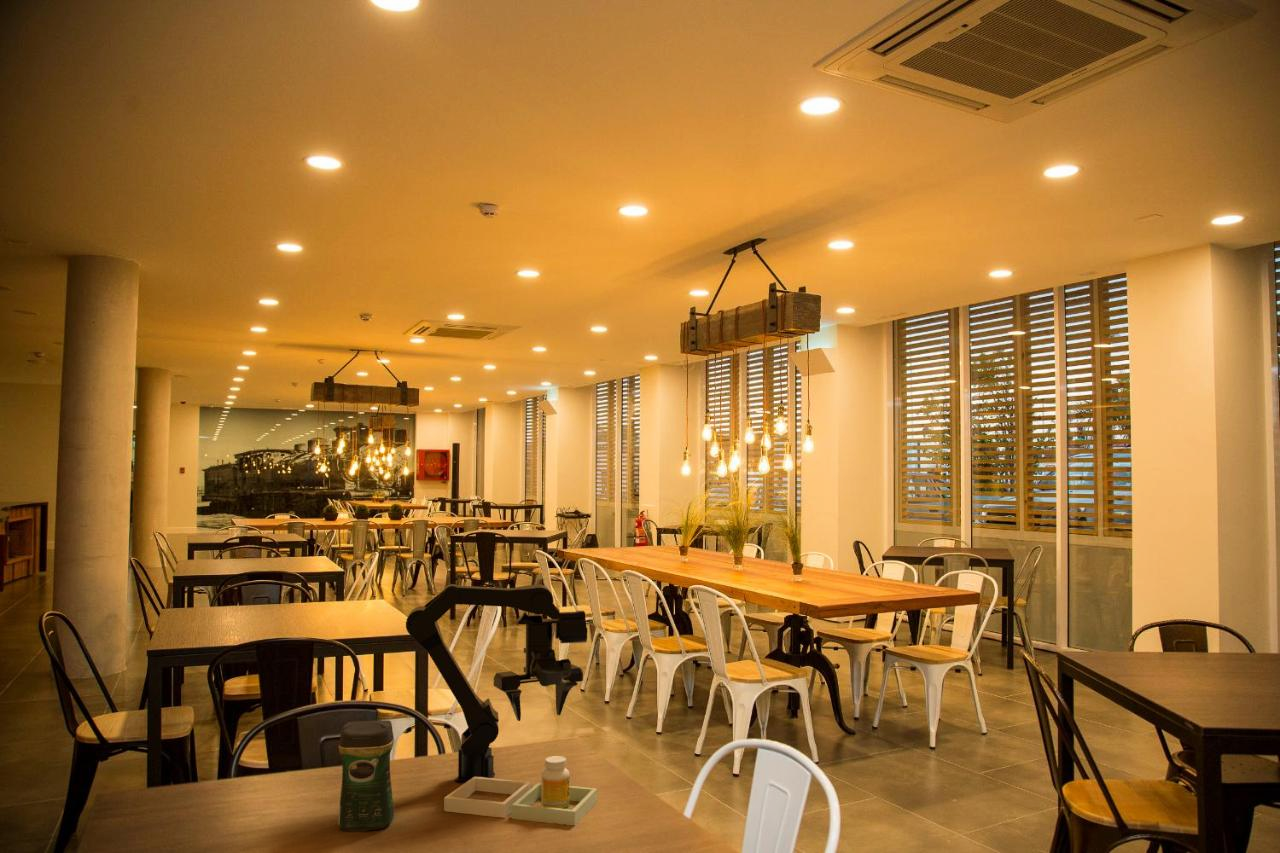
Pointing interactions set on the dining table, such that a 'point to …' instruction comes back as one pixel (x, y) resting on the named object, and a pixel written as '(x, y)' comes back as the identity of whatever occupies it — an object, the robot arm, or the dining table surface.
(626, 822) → the dining table surface
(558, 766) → the supplement bottle
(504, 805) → the white bin
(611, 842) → the dining table surface
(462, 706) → the robot arm
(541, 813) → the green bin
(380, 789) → the coffee jar
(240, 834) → the dining table surface
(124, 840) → the dining table surface
